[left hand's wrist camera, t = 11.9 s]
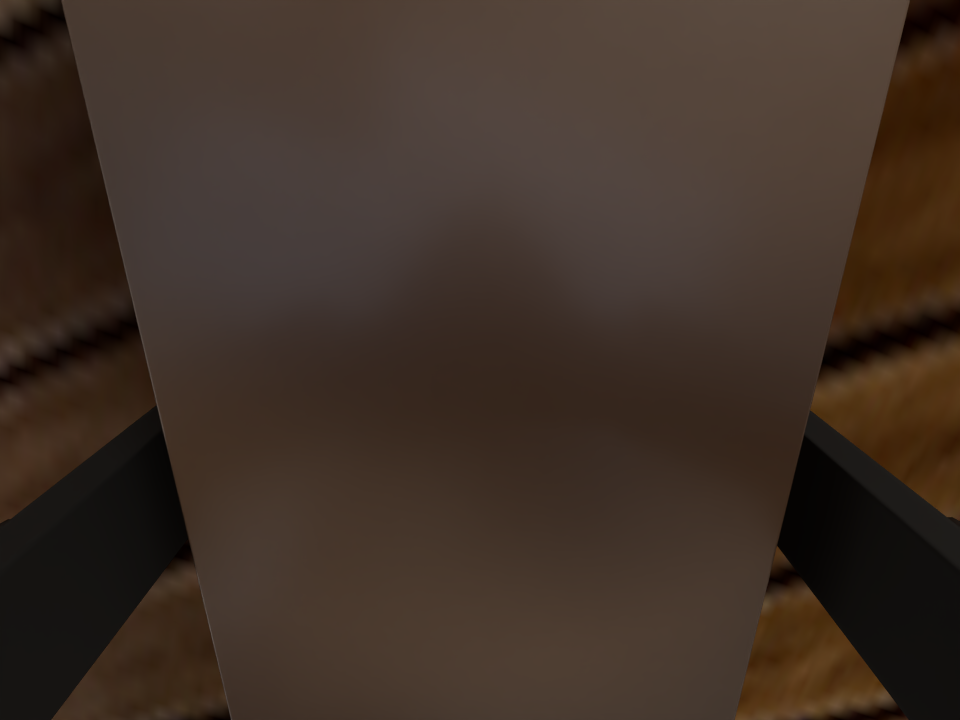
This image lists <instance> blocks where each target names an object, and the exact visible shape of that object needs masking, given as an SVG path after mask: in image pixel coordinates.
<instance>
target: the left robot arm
mask: <svg viewBox="0 0 960 720" xmlns="http://www.w3.org/2000/svg"><path fill="white" fill-rule="evenodd" d="M187 539H188V535H187V530H186V526H185V522H184V518H183V514H182V509H181V505H180V501H179V497H178V492H177V488H176V484H175V480H174V475H173V471H172V467H171V463H170V459H169V454H168V450H167V446H166V442H165V437H164V433H163V429H162V425H161V420H160V416H159V412H158V408H157V405H156V406H155V407H154V408H152V409H151V410H150V411H149V412H147V413H146V414H145V415H143V416H142V417H141V418H140V419H138V420H137V421H136V422H134V423H133V424H132V425H131V426H129V427H128V428H127V429H125V430H124V431H123V432H122V433H120V434H119V435H118V436H117V437H115V438H114V439H113V440H111V441H110V442H109V443H108V444H106V445H105V446H104V447H102V448H101V449H100V450H99V451H97V452H96V453H95V454H94V455H92V456H91V457H90V458H88V459H87V460H86V461H85V462H83V463H82V464H81V465H79V466H78V467H77V468H76V469H74V470H73V471H72V472H70V473H69V474H68V475H67V476H65V477H64V478H63V479H62V480H60V481H59V482H58V483H56V484H55V485H54V486H53V487H51V488H50V489H49V490H47V491H46V492H45V493H44V494H42V495H41V496H40V497H39V498H37V499H36V500H35V501H33V502H32V503H31V504H30V505H28V506H27V507H26V508H24V509H23V510H22V511H21V512H19V513H18V514H17V515H15V516H14V517H13V518H12V519H8V520H6V521H4V522H2V523H0V720H51V719H52V718H53V717H54V715H55V714H56V713H57V711H58V710H59V709H60V707H61V706H62V705H63V703H64V702H65V701H66V699H67V698H68V697H69V695H70V694H71V693H72V691H73V690H74V689H75V687H76V686H77V685H78V683H79V682H80V681H81V679H82V678H83V677H84V676H85V674H86V673H87V672H88V670H89V669H90V668H91V666H92V665H93V664H94V662H95V661H96V660H97V658H98V657H99V656H100V654H101V653H102V652H103V650H104V649H105V648H106V646H107V645H108V644H109V642H110V641H111V640H112V638H113V637H114V636H115V635H116V633H117V632H118V631H119V629H120V628H121V627H122V625H123V624H124V623H125V621H126V620H127V619H128V617H129V616H130V615H131V613H132V612H133V611H134V609H135V608H136V607H137V605H138V604H139V603H140V601H141V600H142V599H143V597H144V596H145V595H146V594H147V592H148V591H149V590H150V588H151V587H152V586H153V584H154V583H155V582H156V580H157V579H158V578H159V576H160V575H161V574H162V572H163V571H164V570H165V568H166V567H167V566H168V564H169V563H170V562H171V560H172V559H173V558H174V556H175V555H176V554H177V553H178V551H179V550H180V549H181V547H182V546H183V545H184V543H185V542H186V541H187ZM777 546H778V547H779V549H780V550H781V551H782V553H783V554H784V555H785V556H786V558H787V559H788V560H789V562H790V563H791V564H792V566H793V567H794V568H795V570H796V571H797V572H798V574H799V575H800V576H801V578H802V579H803V580H804V582H805V583H806V584H807V586H808V587H809V588H810V590H811V591H812V592H813V594H814V595H815V596H816V597H817V599H818V600H819V601H820V603H821V604H822V605H823V607H824V608H825V609H826V611H827V612H828V613H829V615H830V616H831V617H832V619H833V620H834V621H835V623H836V624H837V625H838V627H839V628H840V629H841V631H842V632H843V633H844V635H845V636H846V637H847V638H848V640H849V641H850V642H851V644H852V645H853V646H854V648H855V649H856V650H857V652H858V653H859V654H860V656H861V657H862V658H863V660H864V661H865V662H866V664H867V665H868V666H869V668H870V669H871V670H872V672H873V673H874V674H875V676H876V677H877V678H878V680H879V681H880V682H881V683H882V685H883V686H884V687H885V689H886V690H887V691H888V693H889V694H890V695H891V697H892V698H893V699H894V701H895V702H896V703H897V705H898V706H899V707H900V709H901V710H902V711H903V713H904V714H905V715H906V717H907V718H908V719H909V720H960V521H958V520H956V519H955V518H953V517H946V516H945V515H943V514H942V513H941V512H939V511H938V510H937V509H936V508H934V507H933V506H932V505H930V504H929V503H928V502H927V501H925V500H924V499H923V498H921V497H920V496H919V495H918V494H916V493H915V492H914V491H913V490H911V489H910V488H909V487H907V486H906V485H905V484H904V483H902V482H901V481H900V480H898V479H897V478H896V477H895V476H893V475H892V474H891V473H890V472H888V471H887V470H886V469H884V468H883V467H882V466H881V465H879V464H878V463H877V462H875V461H874V460H873V459H872V458H870V457H869V456H868V455H866V454H865V453H864V452H863V451H861V450H860V449H859V448H858V447H856V446H855V445H854V444H852V443H851V442H850V441H849V440H847V439H846V438H845V437H843V436H842V435H841V434H840V433H838V432H837V431H836V430H834V429H833V428H832V427H831V426H829V425H828V424H827V423H826V422H824V421H823V420H822V419H820V418H819V417H818V416H817V415H815V414H814V413H813V412H811V411H810V412H809V416H808V420H807V424H806V428H805V432H804V437H803V441H802V445H801V449H800V453H799V457H798V461H797V465H796V469H795V473H794V478H793V482H792V486H791V490H790V494H789V498H788V502H787V506H786V510H785V515H784V519H783V523H782V527H781V531H780V535H779V539H778V543H777Z"/></svg>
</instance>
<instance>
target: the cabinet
mask: <svg viewBox="0 0 960 720" xmlns="http://www.w3.org/2000/svg"><path fill="white" fill-rule="evenodd" d="M61 2H62V6H63V10H64V15H65V19H66V23H67V27H68V31H69V36H70V40H71V44H72V48H73V53H74V57H75V61H76V65H77V70H78V74H79V78H80V82H81V86H82V91H83V95H84V99H85V103H86V108H87V112H88V116H89V120H90V124H91V129H92V133H93V137H94V141H95V146H96V150H97V154H98V158H99V163H100V167H101V171H102V175H103V179H104V184H105V188H106V192H107V196H108V201H109V205H110V209H111V213H112V218H113V222H114V226H115V230H116V234H117V239H118V243H119V247H120V251H121V256H122V260H123V264H124V268H125V272H126V277H127V281H128V285H129V289H130V294H131V298H132V302H133V306H134V311H135V315H136V319H137V323H138V327H139V332H140V336H141V340H142V344H143V349H144V353H145V357H146V361H147V366H148V370H149V374H150V378H151V382H152V387H153V391H154V395H155V399H156V404H157V408H158V412H159V416H160V420H161V425H162V429H163V433H164V437H165V442H166V446H167V450H168V454H169V459H170V463H171V467H172V471H173V475H174V480H175V484H176V488H177V492H178V497H179V501H180V505H181V509H182V514H183V518H184V522H185V526H186V530H187V535H188V539H189V543H190V547H191V552H192V556H193V560H194V564H195V568H196V573H197V577H198V581H199V585H200V590H201V594H202V598H203V602H204V607H205V611H206V615H207V619H208V623H209V628H210V632H211V636H212V640H213V645H214V649H215V653H216V657H217V662H218V666H219V670H220V674H221V678H222V683H223V687H224V691H225V695H226V700H227V704H228V708H229V712H230V716H231V720H735V716H736V711H737V707H738V703H739V699H740V695H741V691H742V687H743V683H744V679H745V675H746V670H747V666H748V662H749V658H750V654H751V650H752V646H753V642H754V638H755V633H756V629H757V625H758V621H759V617H760V613H761V609H762V605H763V601H764V597H765V592H766V588H767V584H768V580H769V576H770V572H771V568H772V564H773V560H774V556H775V551H776V547H777V543H778V539H779V535H780V531H781V527H782V523H783V519H784V515H785V510H786V506H787V502H788V498H789V494H790V490H791V486H792V482H793V478H794V473H795V469H796V465H797V461H798V457H799V453H800V449H801V445H802V441H803V437H804V432H805V428H806V424H807V420H808V416H809V412H810V408H811V404H812V400H813V396H814V391H815V387H816V383H817V379H818V375H819V371H820V367H821V363H822V359H823V355H824V350H825V346H826V342H827V338H828V334H829V330H830V326H831V322H832V318H833V313H834V309H835V305H836V301H837V297H838V293H839V289H840V285H841V281H842V277H843V272H844V268H845V264H846V260H847V256H848V252H849V248H850V244H851V240H852V236H853V231H854V227H855V223H856V219H857V215H858V211H859V207H860V203H861V199H862V195H863V190H864V186H865V182H866V178H867V174H868V170H869V166H870V162H871V158H872V153H873V149H874V145H875V141H876V137H877V133H878V129H879V125H880V121H881V117H882V112H883V108H884V104H885V100H886V96H887V92H888V88H889V84H890V80H891V76H892V71H893V67H894V63H895V59H896V55H897V51H898V47H899V43H900V39H901V35H902V30H903V26H904V22H905V18H906V14H907V10H908V6H909V2H910V0H61Z"/></svg>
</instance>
